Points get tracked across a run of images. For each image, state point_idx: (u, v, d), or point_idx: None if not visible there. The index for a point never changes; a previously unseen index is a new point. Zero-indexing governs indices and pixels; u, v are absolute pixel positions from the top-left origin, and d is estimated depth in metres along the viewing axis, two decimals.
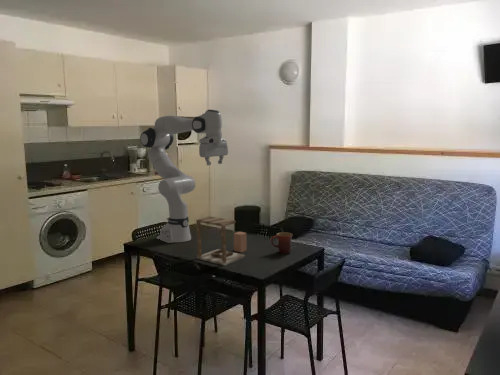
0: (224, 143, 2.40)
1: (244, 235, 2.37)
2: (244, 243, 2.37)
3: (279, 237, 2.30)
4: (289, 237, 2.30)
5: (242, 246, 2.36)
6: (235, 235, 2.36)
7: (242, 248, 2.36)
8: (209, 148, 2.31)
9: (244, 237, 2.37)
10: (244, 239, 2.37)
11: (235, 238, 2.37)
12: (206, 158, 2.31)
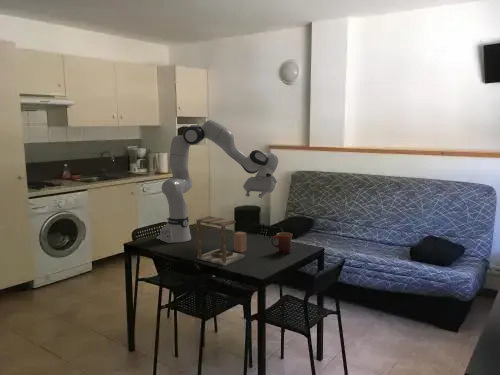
0: None
1: (244, 235, 2.37)
2: (244, 243, 2.37)
3: (279, 237, 2.30)
4: (289, 237, 2.30)
5: (242, 246, 2.36)
6: (235, 235, 2.36)
7: (242, 248, 2.36)
8: None
9: (244, 237, 2.37)
10: (244, 239, 2.37)
11: (235, 238, 2.37)
12: (265, 192, 2.42)
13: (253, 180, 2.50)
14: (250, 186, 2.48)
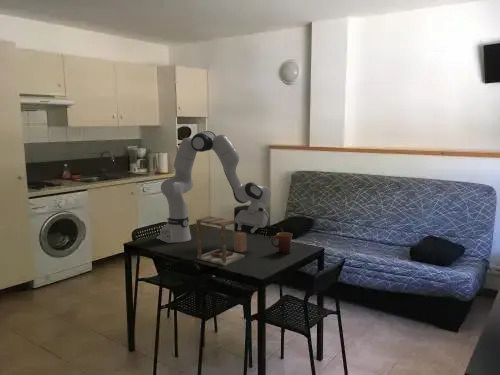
0: None
1: (244, 235, 2.37)
2: (244, 243, 2.37)
3: (279, 237, 2.30)
4: (289, 237, 2.30)
5: (242, 246, 2.36)
6: (235, 235, 2.36)
7: (242, 248, 2.36)
8: None
9: (244, 237, 2.37)
10: (244, 239, 2.37)
11: (235, 238, 2.37)
12: (257, 227, 2.39)
13: (245, 213, 2.47)
14: (242, 220, 2.45)
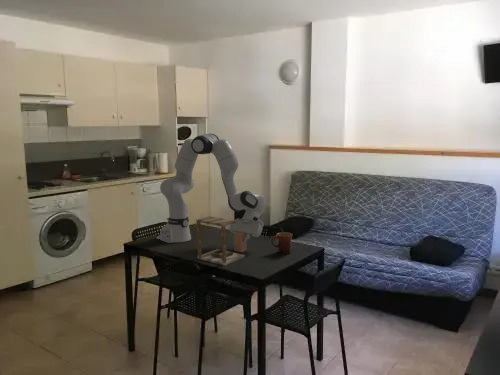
0: None
1: (244, 235, 2.37)
2: (244, 243, 2.37)
3: (279, 237, 2.30)
4: (289, 237, 2.30)
5: (242, 246, 2.36)
6: (235, 235, 2.36)
7: (242, 248, 2.36)
8: None
9: (244, 237, 2.37)
10: None
11: (235, 238, 2.37)
12: (249, 236, 2.36)
13: (239, 222, 2.44)
14: (236, 229, 2.41)
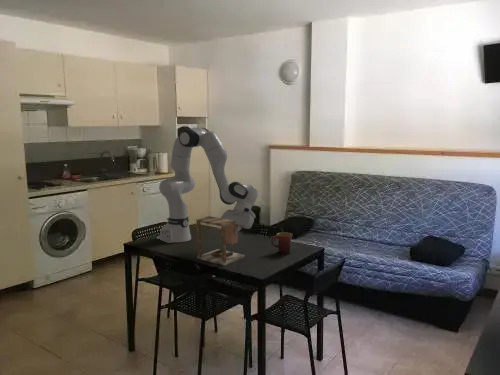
0: None
1: (235, 227, 2.30)
2: (235, 235, 2.30)
3: (279, 237, 2.30)
4: (289, 237, 2.30)
5: (233, 238, 2.29)
6: (226, 227, 2.29)
7: (233, 240, 2.29)
8: None
9: None
10: None
11: (226, 230, 2.30)
12: (240, 227, 2.29)
13: (230, 214, 2.36)
14: None
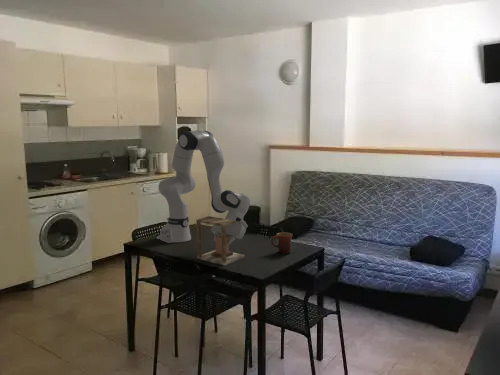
0: None
1: (226, 239, 2.25)
2: (227, 247, 2.26)
3: (279, 237, 2.30)
4: (289, 237, 2.30)
5: None
6: (217, 239, 2.24)
7: None
8: None
9: (226, 241, 2.25)
10: (226, 243, 2.25)
11: (217, 242, 2.25)
12: (234, 238, 2.23)
13: None
14: (218, 230, 2.29)
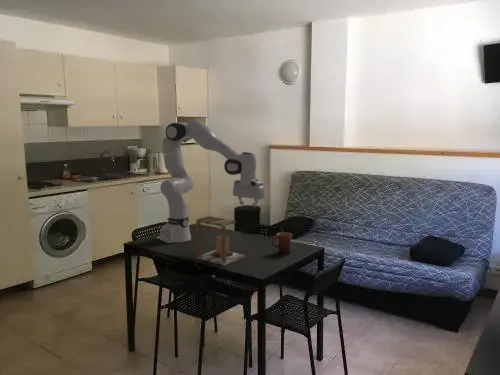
0: None
1: (226, 239, 2.25)
2: (227, 247, 2.26)
3: (279, 237, 2.30)
4: (289, 237, 2.30)
5: None
6: (217, 239, 2.24)
7: None
8: None
9: (226, 241, 2.25)
10: (226, 243, 2.25)
11: (217, 242, 2.25)
12: (257, 200, 2.37)
13: (240, 187, 2.41)
14: (240, 195, 2.42)
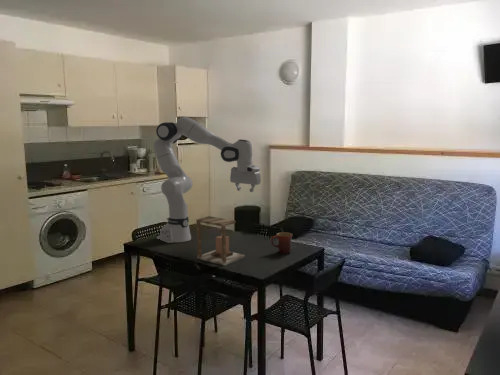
0: None
1: (226, 239, 2.25)
2: (227, 247, 2.26)
3: (279, 237, 2.30)
4: (289, 237, 2.30)
5: None
6: (217, 239, 2.24)
7: None
8: None
9: (226, 241, 2.25)
10: (226, 243, 2.25)
11: (217, 242, 2.25)
12: (254, 185, 2.45)
13: (237, 173, 2.49)
14: (237, 181, 2.50)
